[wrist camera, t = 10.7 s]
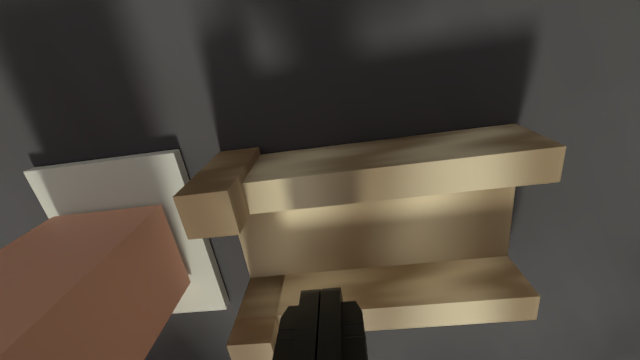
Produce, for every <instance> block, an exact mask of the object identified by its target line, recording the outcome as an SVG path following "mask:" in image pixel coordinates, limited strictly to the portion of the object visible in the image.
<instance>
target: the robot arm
mask: <svg viewBox="0 0 640 360" xmlns="http://www.w3.org/2000/svg"><path fill="white" fill-rule="evenodd" d="M272 360H368V355H367V344H366V336H365V328H364V320H363V313H362V310H361V308H360V307H359V305H358V304H357V302H356V301H345V302H343V298H342V291H341V287H336V288H324V289H314V290H302V291H301V294H300V300H299V305H296V306H288V307H287V309H286V310H285V312H284V313H283V315H282V316H281V319H280V324H279V328H278V333H277V338H276V344H275V348H274V353H273V358H272Z"/></svg>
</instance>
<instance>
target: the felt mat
mask: <svg viewBox="0 0 640 360" xmlns="http://www.w3.org/2000/svg"><path fill="white" fill-rule="evenodd" d="M23 173H24V174H25V176H26V178H27V180H28V182H29V184H30V185H31V187H32V189H33V191H34V193H35V194H36V196H37V198H38V200H39V202H40V204H41V205H42V207H43V209H44V211H45V213H46V214H47V216H48V218H49V219H50V218H52V217H54V216H63V215H72V214H81V213H90V212H99V211H108V210H117V209H126V208H135V207H144V206H153V205H161V206H162V208H163V211H164V213H165V216H166V219H167V221H168V224H169V227H170V229H171V232H172V234H173V237H174V240H175V242H176V245H177V247H178V250H179V253H180V255H181V258H182V261H183V263H184V266H185V268H186V271H187V274H188V276H189V279H190V282H191V283H190V284H189V286H188V288H187V289H186V291H185V293H184V294H183V296H182V298H181V299H180V301H179V303H178V304H177V306H176V308H175V309H174V311H173V313H186V312H199V311H213V310H226V309H227V307H228V305H229V302H230V301H229V298H228V295H227V292H226V289H225V286H224V283H223V280H222V277H221V274H220V271H219V268H218V265H217V262H216V259H215V256H214V253H213V250H212V247H211V244H210V241H209V238H202V239H191V240H188V238H187V236H186V233H185V230H184V227H183V225H182V222H181V219H180V216H179V213H178V211H177V208H176V205H175V202H174V200H173V196H174V195H175V194H176V193H177V192H178V191H179V190H180V189H181V188H182V187H183V186H184V185H185V184H187V183H188V182H189V181H190V180H189V177H188V174H187V171H186V168H185V165H184V162H183V159H182V156H181V153H180V150H179V149H175V150H167V151H159V152H151V153H143V154H136V155H128V156H120V157H112V158H104V159H96V160H89V161H81V162H73V163H65V164H57V165H49V166H42V167H34V168H31V169H29V170H26V171H24V172H23ZM173 313H172V314H173Z"/></svg>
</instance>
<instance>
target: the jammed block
mask: <svg viewBox="0 0 640 360" xmlns="http://www.w3.org/2000/svg"><path fill="white" fill-rule="evenodd" d="M190 283H191V282H190V279H189V276H188V274H187V271H186V268H185V266H184V263H183V261H182V258H181V255H180V253H179V250H178V247H177V245H176V242H175V240H174V237H173V234H172V232H171V229H170V227H169V224H168V221H167V219H166V216H165V213H164V211H163V208H162V206H161V205H153V206H144V207H135V208H126V209H117V210H108V211H99V212H90V213H81V214H72V215H63V216H54V217H52V218H50V219H48V220H47V221H45V222H44V223H42V224H40V225H39V226H37V227H36V228H34V229H32V230H31V231H29V232H27V233H26V234H24V235H23V236H21V237H19V238H18V239H16V240H15V241H13V242H11V243H10V244H8V245H6V246H5V247H3V248H2V249H0V360H144V359H145V358H146V356H147V354H148V353H149V351H150V349H151V348H152V346H153V344H154V343H155V341H156V339H157V338H158V336H159V334H160V333H161V331H162V329H163V328H164V326H165V324H166V323H167V321H168V319H169V318H170V316H171V314H172V313H173V311H174V309H175V308H176V306H177V304H178V303H179V301H180V299H181V298H182V296H183V294H184V293H185V291H186V289H187V288H188V286H189V284H190Z"/></svg>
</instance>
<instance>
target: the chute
mask: <svg viewBox="0 0 640 360" xmlns="http://www.w3.org/2000/svg"><path fill="white" fill-rule="evenodd" d="M565 150H566V146H565V145H562V144H560V143H558V142H556V141H553V140H551V139H549V138H547V137H545V136H542V135H540V134H538V133H536V132H533V131H531V130H529V129H527V128H524V127H522V126H520V125H518V124H516V123H513V124H505V125H497V126H488V127H480V128H472V129H464V130H456V131H448V132H440V133H432V134H423V135H415V136H407V137H399V138H391V139H383V140H375V141H366V142H358V143H350V144H342V145H334V146H326V147H318V148H309V149H301V150H293V151H285V152H277V153H269V154H261V153H260V149H259V147H253V148H245V149H237V150H229V151H221V152H219V153H218V154H217V155H216V156H215V157H214V158H213V159H212V160H211V161H210V162H209V163H208V164H206V165H205V166H204V167H203V168H202V169H201V170H200V171H199V172H198V173H197V174H196V175H195V176H194V177H193V178H192V179H191V180H190V181H189V182H188V183H187V184H185V185H184V186H183V187H182V188H181V189H180V190H179V191H178V192H177V193H176V194H175V195H174V196H173V200H174V202H175V205H176V208H177V211H178V213H179V216H180V219H181V222H182V225H183V227H184V230H185V233H186V236H187V238H188V240H191V239H202V238H212V237H222V236H232V235H239V239H240V242H241V246H242V249H243V253H244V256H245V260H246V263H247V267H248V270H249V274H250V277H251V278H250V281H249V284H248V287H247V289H246V292H245V295H244V298H243V301H242V303H241V306H240V309H239V312H238V315H237V317H236V320H235V323H234V326H233V329H232V332H231V334H230V337H229V340H228V343H227V349H228V352H229V354H230V357H231V360H272V358H273V353H274V348H275V344H276V338H277V333H278V328H279V324H280V319H281V316H282V315H283V313H284V312H285V310H286V309H287V307H288V306H296V305H299V300H300V294H301V291H302V290H314V289H324V288H336V287H341V291H342V298H343V302H345V301H356V302H357V304H358V305H359V307H360V308H361V310H362V313H363V320H364V328H365V331H374V330H389V329H404V328H419V327H434V326H449V325H464V324H479V323H494V322H509V321H524V320H536V319H537V313H538V307H539V301H540V295H539V294H538V293H537V292H536V290H535V289H534V288H533V287H532V285H531V284H530V283H529V282H528V281H527V279H526V278H525V277H524V276H523V274H522V273H521V272H520V271H519V269H518V268H517V267H516V266H515V264H514V263H513V262H512V261H511V260H510V258H509V257H508V248H509V239H510V230H511V221H512V212H513V203H514V194H515V186H525V185H534V184H544V183H553V182H560V179H561V173H562V168H563V162H564V156H565Z"/></svg>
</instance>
